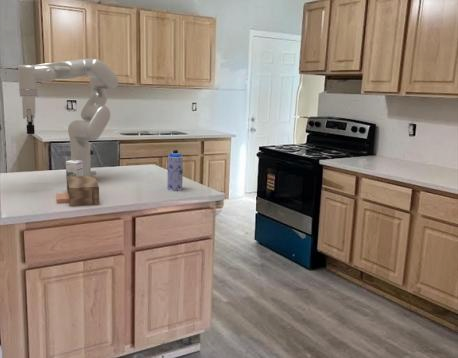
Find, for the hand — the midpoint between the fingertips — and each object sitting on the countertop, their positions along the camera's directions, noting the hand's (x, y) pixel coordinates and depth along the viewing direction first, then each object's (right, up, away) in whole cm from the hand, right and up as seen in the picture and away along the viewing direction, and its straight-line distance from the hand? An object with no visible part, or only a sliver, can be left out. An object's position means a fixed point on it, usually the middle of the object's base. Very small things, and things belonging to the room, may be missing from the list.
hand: (30, 133), depth 204 cm
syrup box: (+17, -26, +10) cm, 33 cm away
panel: (+22, -31, -5) cm, 38 cm away
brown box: (+25, -30, -4) cm, 39 cm away
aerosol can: (+64, -26, +21) cm, 72 cm away
